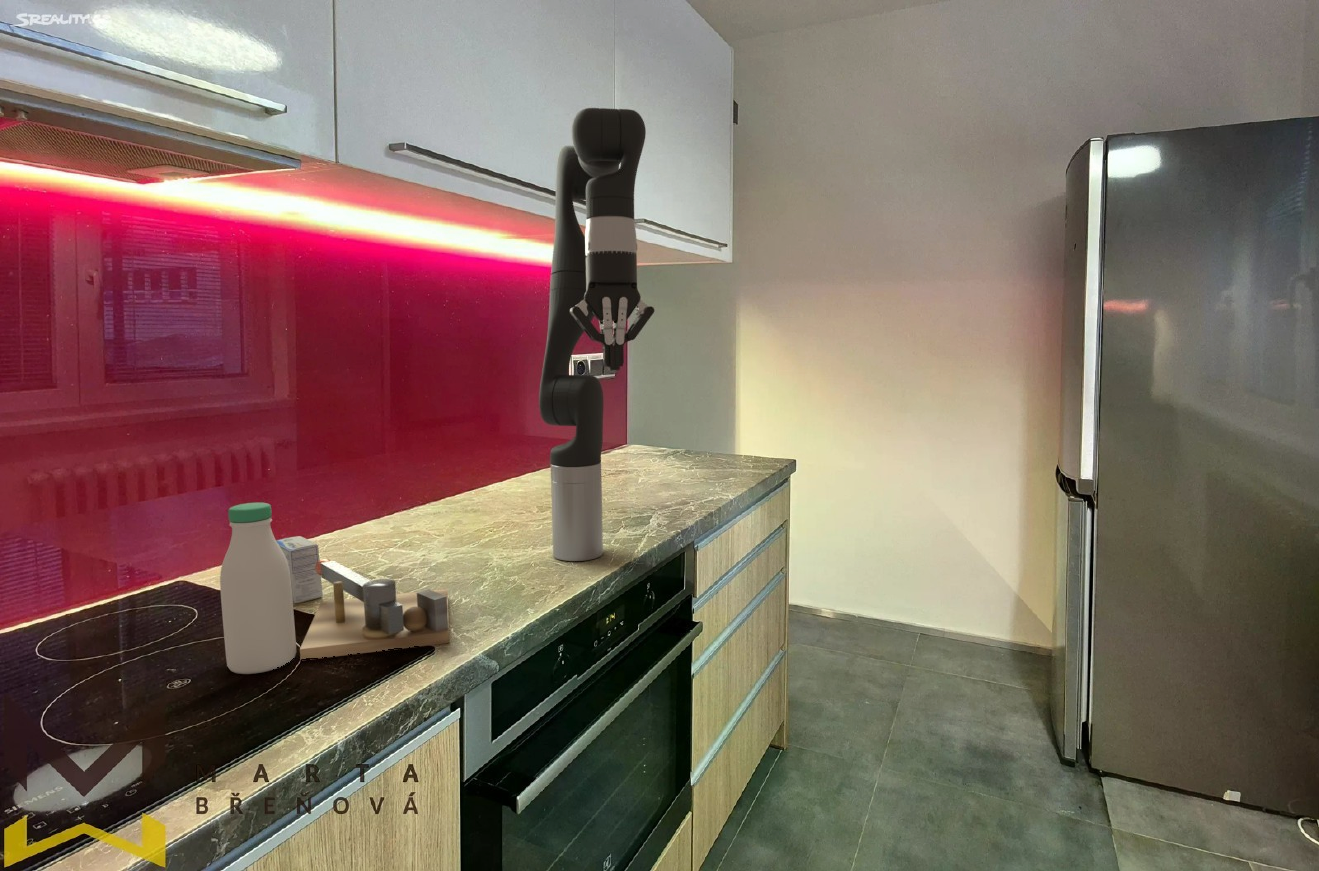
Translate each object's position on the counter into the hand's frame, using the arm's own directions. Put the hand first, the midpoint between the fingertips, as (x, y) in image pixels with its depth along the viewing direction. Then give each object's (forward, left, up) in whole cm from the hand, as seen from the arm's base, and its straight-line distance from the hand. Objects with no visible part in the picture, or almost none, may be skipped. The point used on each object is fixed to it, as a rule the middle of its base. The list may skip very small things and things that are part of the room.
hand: (613, 370), depth 112 cm
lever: (+1, -38, -32) cm, 50 cm away
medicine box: (-16, -48, -35) cm, 62 cm away
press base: (+2, -34, -35) cm, 49 cm away
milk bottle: (+10, -48, -35) cm, 60 cm away
